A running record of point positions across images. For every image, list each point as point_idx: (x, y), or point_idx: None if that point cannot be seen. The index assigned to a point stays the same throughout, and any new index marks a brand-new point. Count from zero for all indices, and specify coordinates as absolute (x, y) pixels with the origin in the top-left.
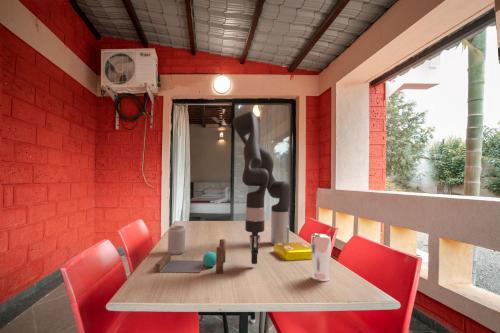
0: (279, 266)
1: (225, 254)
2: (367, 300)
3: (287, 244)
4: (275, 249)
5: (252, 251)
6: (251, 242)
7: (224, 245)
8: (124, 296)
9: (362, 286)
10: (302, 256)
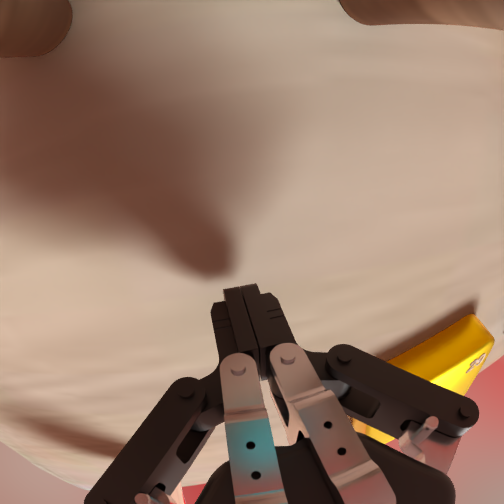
0: (265, 382)
1: (412, 22)
2: (64, 478)
3: (461, 381)
4: (463, 339)
5: (152, 417)
6: (234, 490)
7: (483, 1)
8: None
9: None
10: (356, 422)
